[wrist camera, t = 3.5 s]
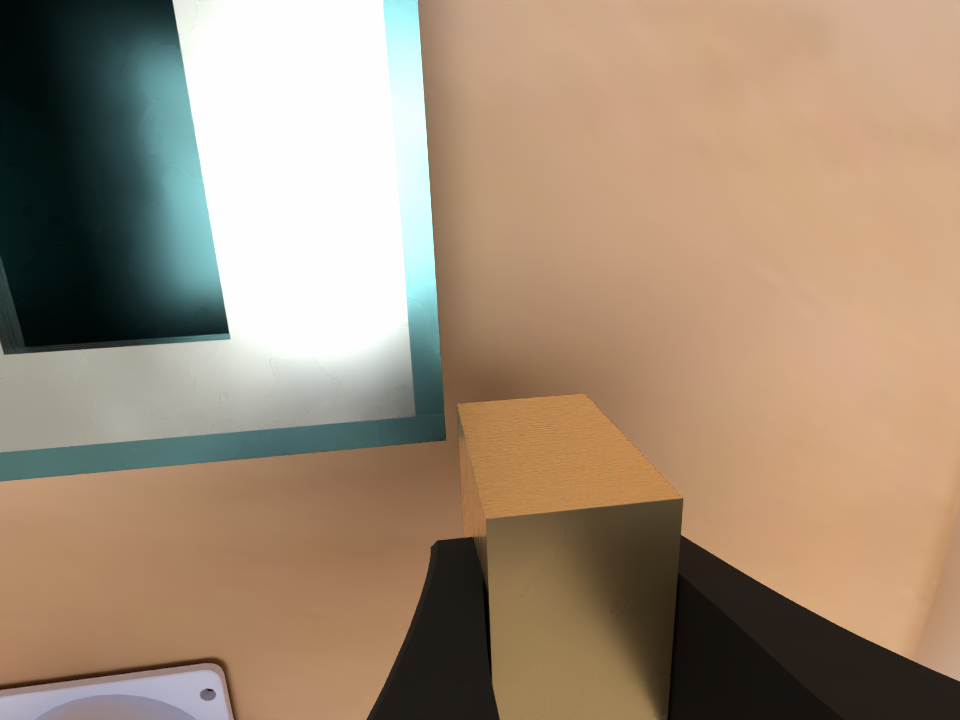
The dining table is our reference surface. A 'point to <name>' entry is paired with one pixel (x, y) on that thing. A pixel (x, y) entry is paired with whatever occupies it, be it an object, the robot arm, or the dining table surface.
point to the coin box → (212, 233)
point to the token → (570, 559)
